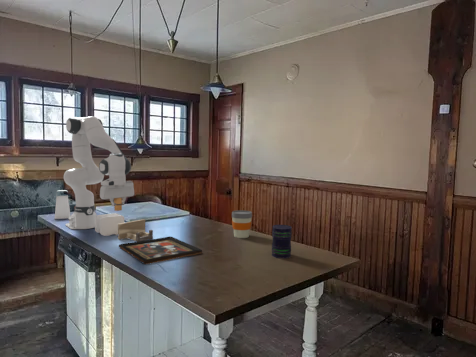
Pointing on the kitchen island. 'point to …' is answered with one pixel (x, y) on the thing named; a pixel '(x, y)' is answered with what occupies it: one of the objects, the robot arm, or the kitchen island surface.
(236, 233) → the reusable coffee cup
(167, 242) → the framed icon painting
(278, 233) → the storage jar
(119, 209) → the banded tan cylinder
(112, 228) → the cable organizer
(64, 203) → the grater
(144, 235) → the wooden trestle bench
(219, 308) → the kitchen island surface
